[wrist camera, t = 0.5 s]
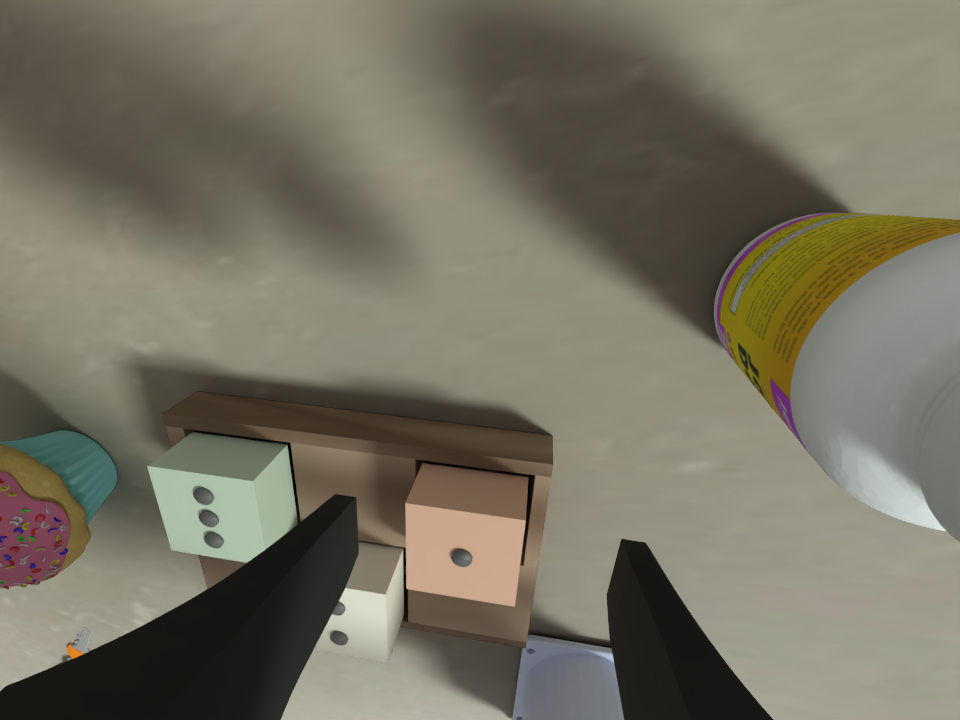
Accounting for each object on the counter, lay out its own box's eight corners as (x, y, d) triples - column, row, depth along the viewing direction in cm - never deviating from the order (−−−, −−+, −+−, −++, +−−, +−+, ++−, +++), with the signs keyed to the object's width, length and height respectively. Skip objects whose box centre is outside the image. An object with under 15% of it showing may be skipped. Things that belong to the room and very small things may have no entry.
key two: (404, 614, 26) (387, 666, 23) (320, 599, 26) (294, 649, 23) (403, 548, 24) (384, 596, 21) (312, 534, 24) (283, 579, 21)
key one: (518, 557, 23) (514, 609, 20) (421, 542, 23) (405, 591, 21) (528, 477, 21) (525, 522, 18) (422, 462, 21) (404, 505, 19)
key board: (527, 609, 27) (525, 648, 25) (234, 561, 29) (208, 593, 27) (552, 435, 22) (553, 464, 20) (196, 391, 24) (162, 413, 22)
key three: (297, 523, 24) (266, 568, 21) (210, 510, 24) (169, 552, 22) (287, 444, 22) (251, 483, 19) (192, 432, 22) (144, 467, 20)
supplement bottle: (674, 314, 19) (782, 493, 7) (805, 174, 16) (1301, 107, 5) (801, 409, 19) (1112, 741, 7) (953, 284, 16) (1834, 495, 5)
